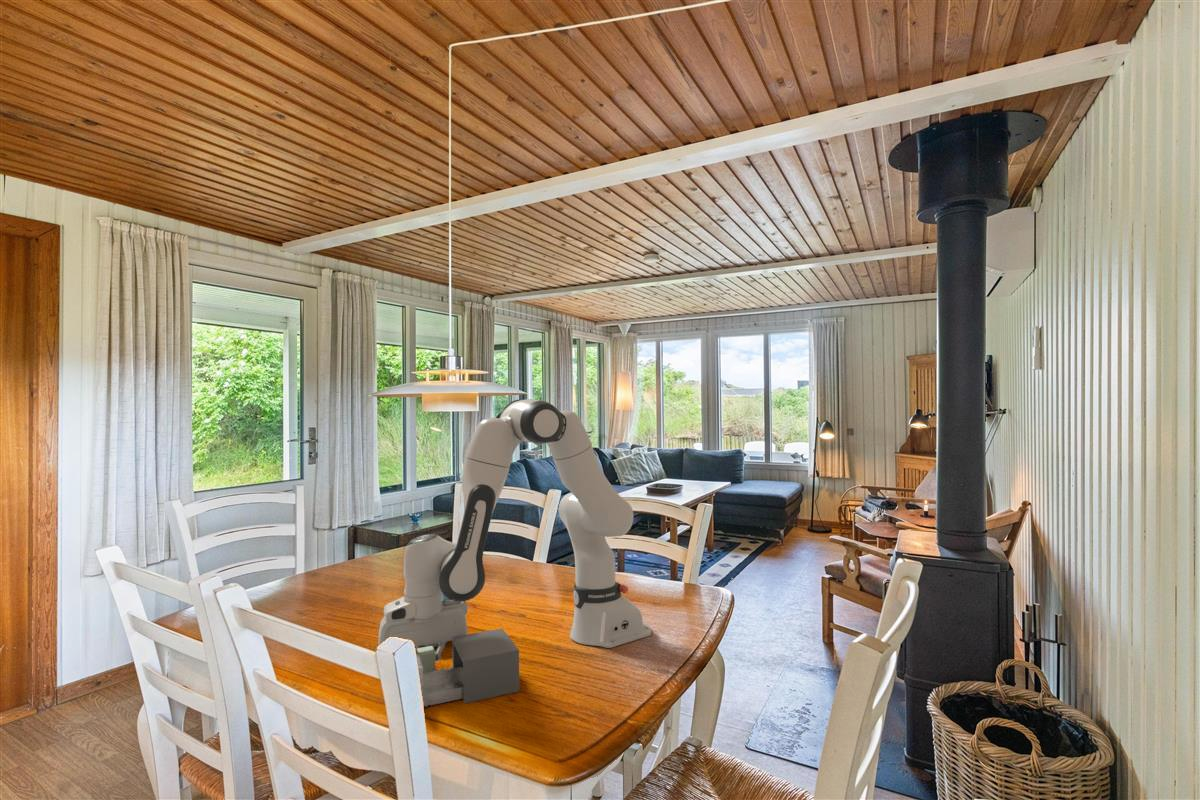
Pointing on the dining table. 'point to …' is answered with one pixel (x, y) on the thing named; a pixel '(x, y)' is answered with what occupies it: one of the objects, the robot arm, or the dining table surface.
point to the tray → (440, 684)
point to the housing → (486, 664)
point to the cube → (427, 658)
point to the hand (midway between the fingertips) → (424, 662)
